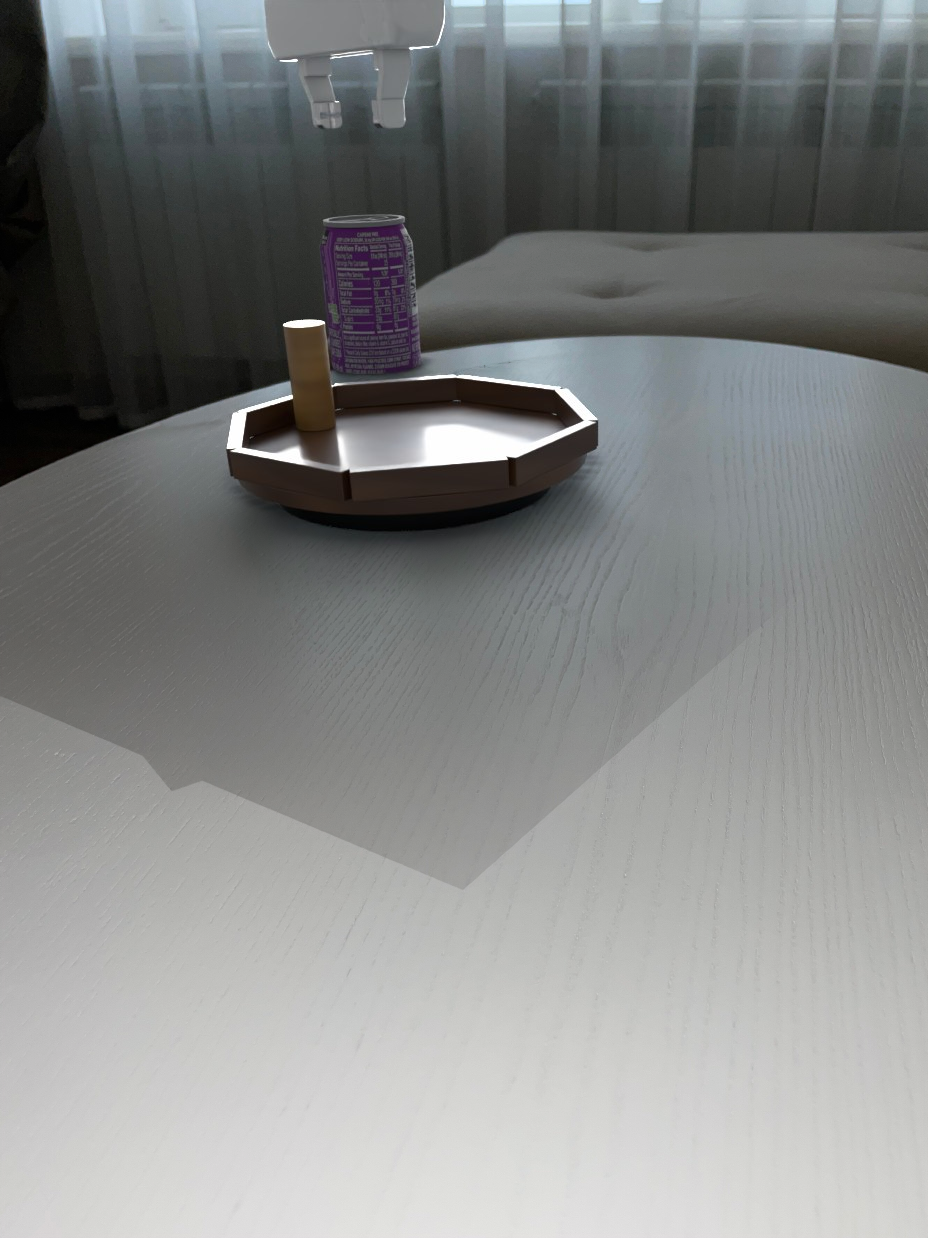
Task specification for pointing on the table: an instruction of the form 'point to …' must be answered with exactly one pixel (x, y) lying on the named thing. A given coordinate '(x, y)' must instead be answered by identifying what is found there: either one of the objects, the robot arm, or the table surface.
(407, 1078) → the table surface
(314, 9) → the robot arm
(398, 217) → the beverage can
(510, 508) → the turntable base
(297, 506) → the tray
